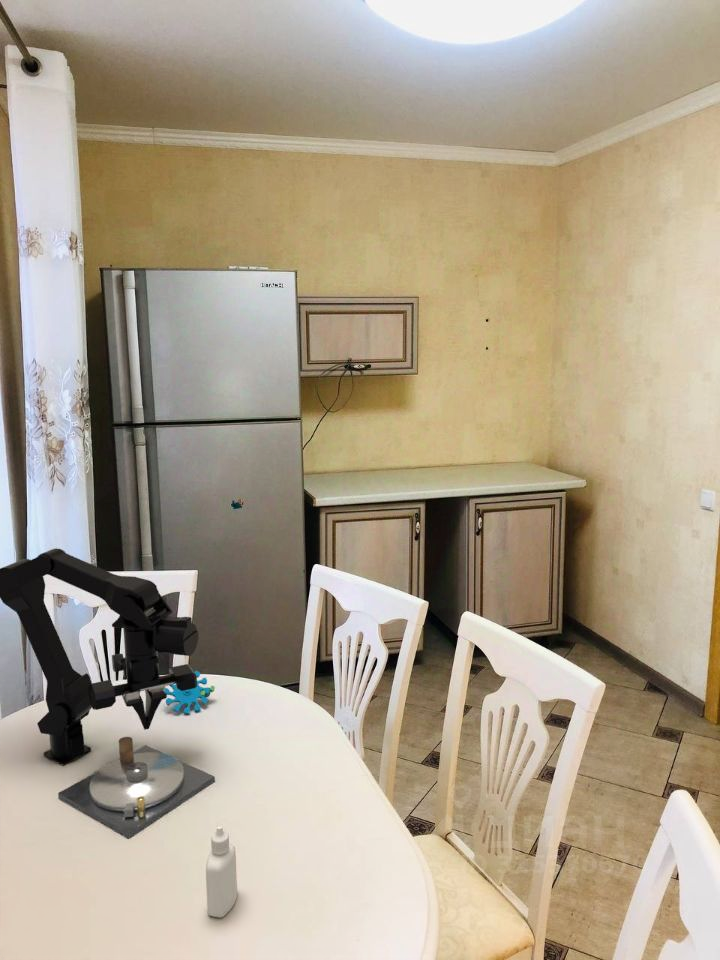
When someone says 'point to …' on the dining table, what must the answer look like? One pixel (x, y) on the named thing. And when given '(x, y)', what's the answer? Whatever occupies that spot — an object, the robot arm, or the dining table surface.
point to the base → (142, 816)
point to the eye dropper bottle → (221, 875)
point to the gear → (189, 695)
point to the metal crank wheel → (135, 779)
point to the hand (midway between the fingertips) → (146, 728)
